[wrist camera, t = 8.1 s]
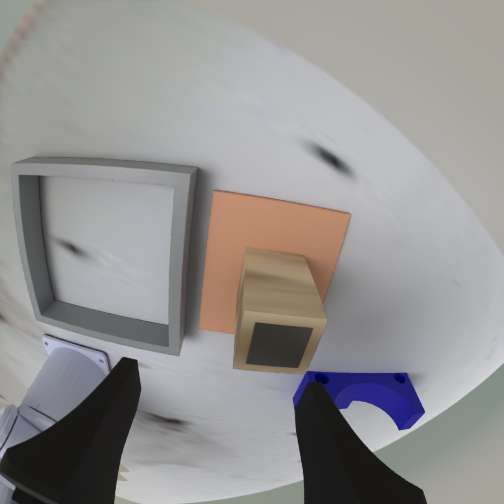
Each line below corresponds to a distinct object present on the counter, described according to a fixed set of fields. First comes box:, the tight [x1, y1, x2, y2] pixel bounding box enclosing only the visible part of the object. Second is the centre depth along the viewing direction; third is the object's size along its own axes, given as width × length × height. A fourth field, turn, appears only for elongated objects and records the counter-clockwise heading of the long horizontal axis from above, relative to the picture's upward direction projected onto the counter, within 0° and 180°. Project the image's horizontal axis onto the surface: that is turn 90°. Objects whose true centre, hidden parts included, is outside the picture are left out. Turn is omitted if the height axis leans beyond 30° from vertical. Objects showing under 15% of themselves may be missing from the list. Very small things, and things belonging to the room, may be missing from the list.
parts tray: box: [11, 157, 198, 356], centre depth 18 cm, size 14×14×2 cm
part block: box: [233, 247, 328, 374], centre depth 17 cm, size 4×4×7 cm
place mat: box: [199, 190, 350, 334], centre depth 20 cm, size 11×9×1 cm
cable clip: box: [293, 371, 425, 430], centre depth 24 cm, size 12×4×6 cm, turn 78°
